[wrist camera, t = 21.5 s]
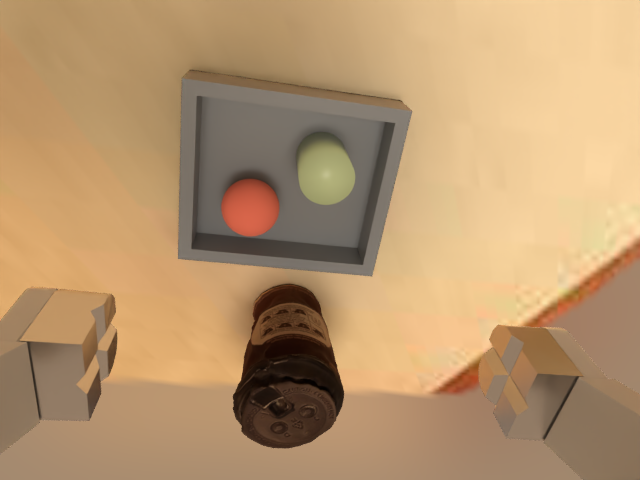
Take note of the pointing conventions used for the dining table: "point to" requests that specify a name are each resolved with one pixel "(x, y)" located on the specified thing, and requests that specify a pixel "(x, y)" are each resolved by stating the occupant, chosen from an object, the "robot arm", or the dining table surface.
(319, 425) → the coffee cup
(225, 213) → the red ball
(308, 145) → the pale green capsule
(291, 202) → the bin
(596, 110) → the dining table surface
